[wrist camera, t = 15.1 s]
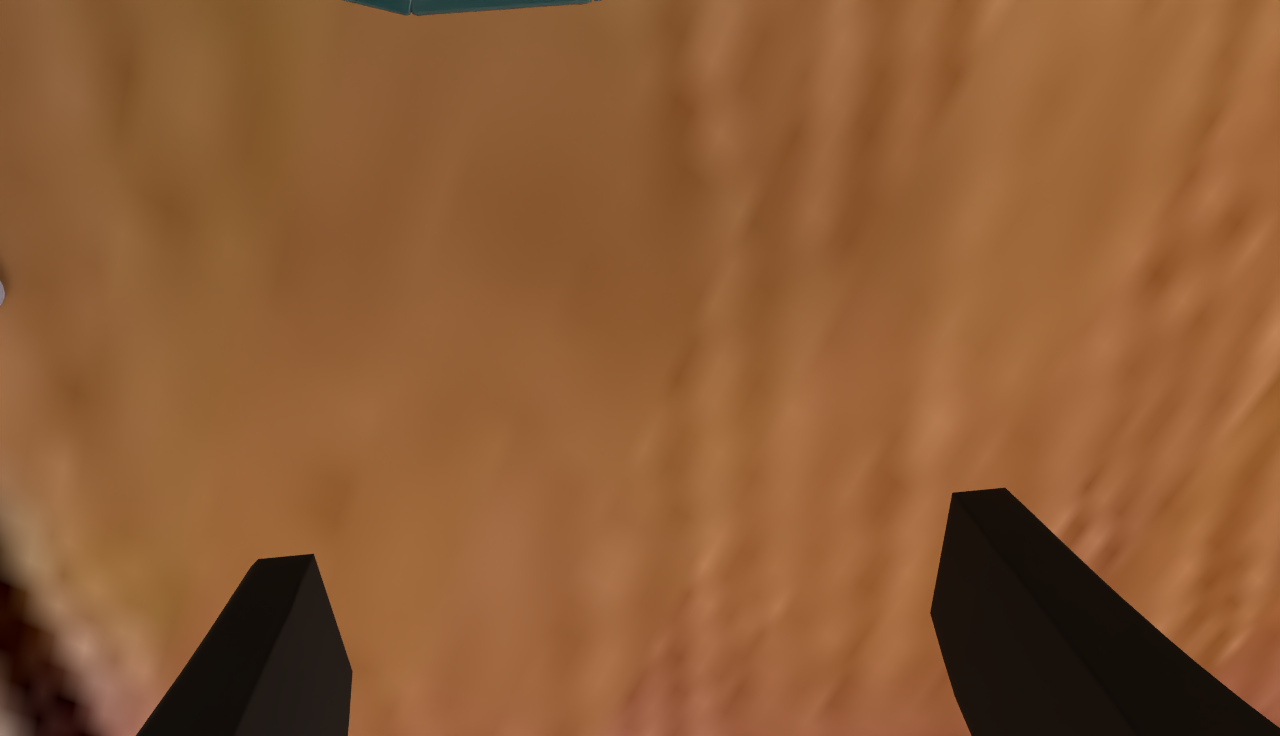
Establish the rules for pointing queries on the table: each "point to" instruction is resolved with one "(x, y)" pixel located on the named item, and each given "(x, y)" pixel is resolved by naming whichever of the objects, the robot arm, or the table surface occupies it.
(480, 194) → the table surface
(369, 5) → the bowl
